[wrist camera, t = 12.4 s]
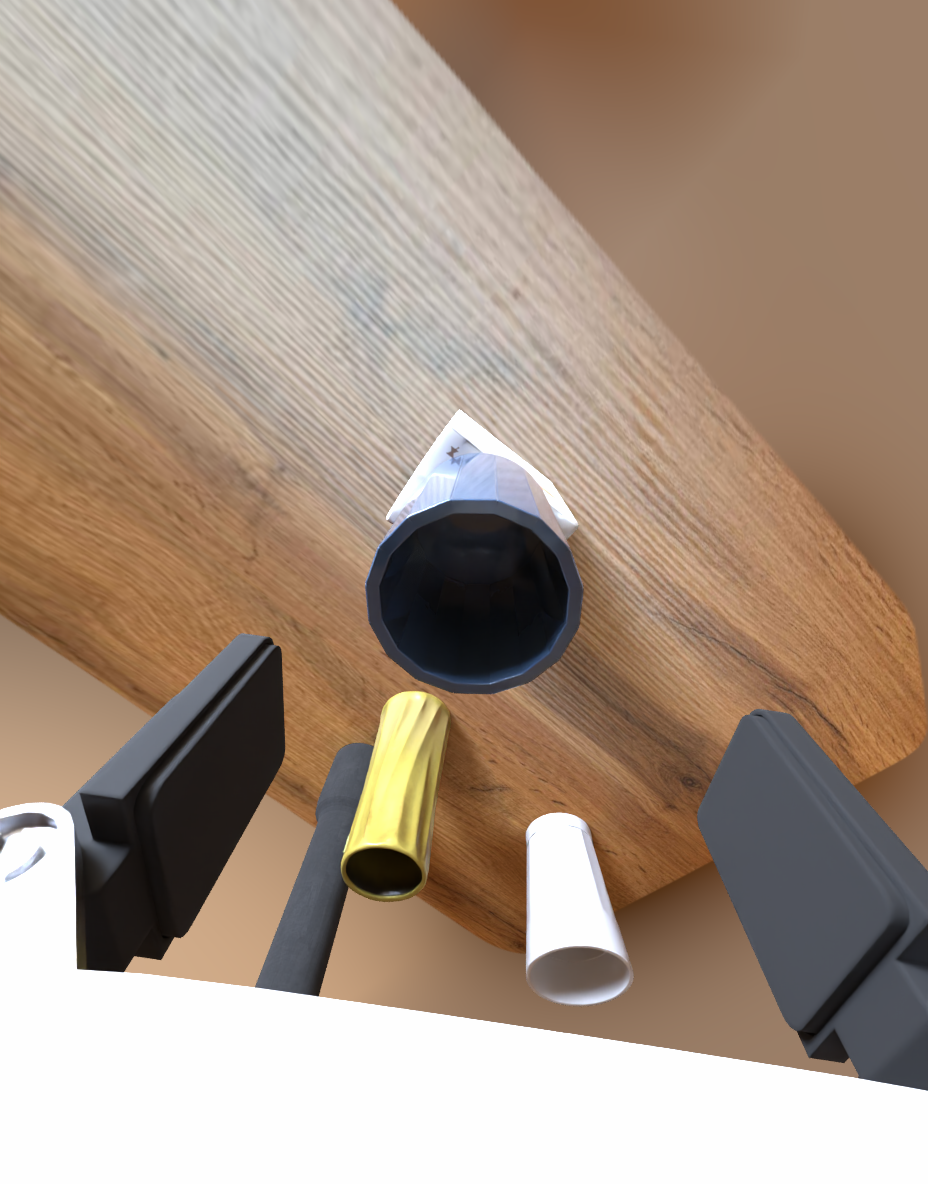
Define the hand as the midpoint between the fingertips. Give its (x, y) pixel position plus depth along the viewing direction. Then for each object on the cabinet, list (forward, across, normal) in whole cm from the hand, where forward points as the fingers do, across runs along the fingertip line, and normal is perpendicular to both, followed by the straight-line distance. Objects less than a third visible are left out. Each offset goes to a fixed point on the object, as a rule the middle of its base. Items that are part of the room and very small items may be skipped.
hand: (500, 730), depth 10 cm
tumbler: (+14, +1, 0) cm, 15 cm away
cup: (+25, -11, +33) cm, 43 cm away
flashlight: (+25, +8, +27) cm, 38 cm away
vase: (+25, +4, +21) cm, 33 cm away
